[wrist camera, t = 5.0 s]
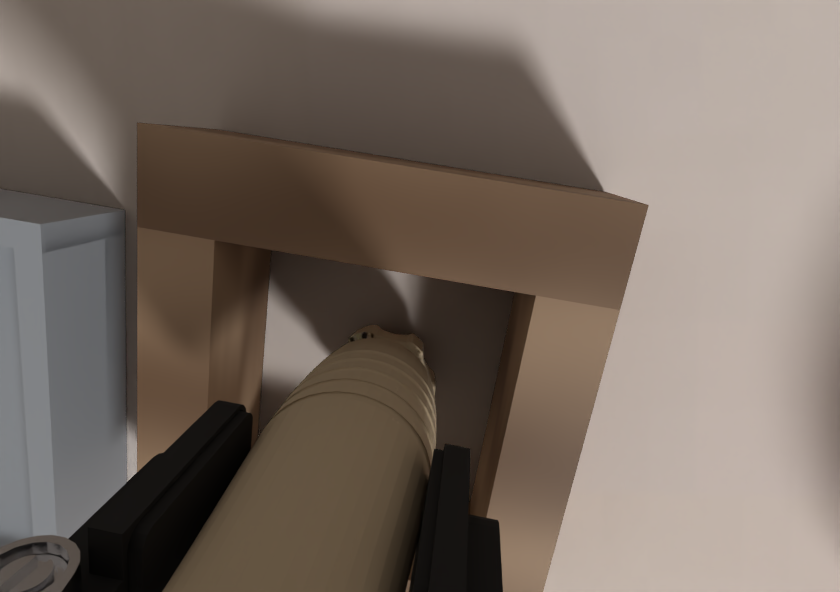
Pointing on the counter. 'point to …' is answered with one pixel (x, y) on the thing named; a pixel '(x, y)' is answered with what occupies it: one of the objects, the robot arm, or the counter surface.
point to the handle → (328, 481)
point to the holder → (390, 250)
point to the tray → (60, 363)
